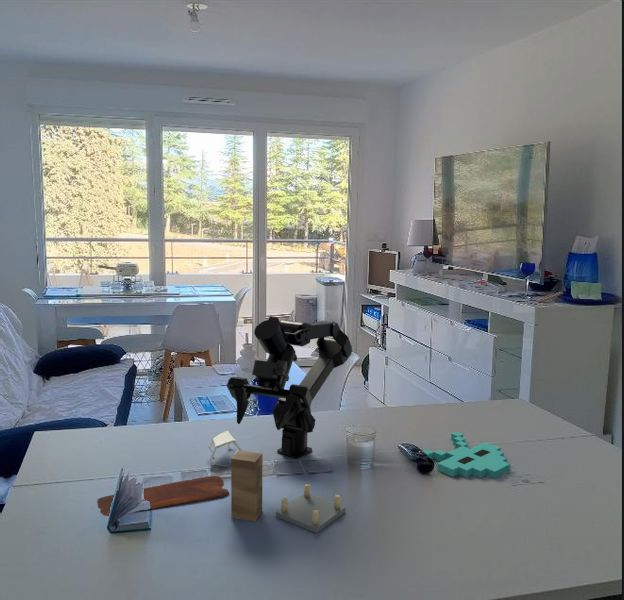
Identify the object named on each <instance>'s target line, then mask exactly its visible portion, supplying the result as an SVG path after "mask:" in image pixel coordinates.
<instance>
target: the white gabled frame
mask: <svg viewBox="0 0 624 600" xmlns="http://www.w3.org/2000/svg"><path fill="white" fill-rule="evenodd" d="M231 444H234V446H235V447H236V448H237V450H236V451H235V452H234V453H232V457H233V456H234V455H235V454H236V453H237V452H238V451H239V450H241V451H243V449H241V447H240V446H239V445H238V443H237V440H236V439H235V438H234V437H233V436H232V434H231V433H230V432H229V430H225V431H223V432H221V433H219V434H218V435H216V436H215V437H214V438H212V439H211V442H210V443H209V444H208V446H207V448H208V449H209V450H210V453H211V454H210V457H209V458H208V460H209V461H212V462H213V464H214V465H213V466H215V465H216V464H217V460H215V459H214V458H215V453H216V450H217V449H219V448H221V447H223V446H226V445H227V448H228V449H230V450H233V448H232V447H230V445H231ZM212 445H214V450H213V448H211V446H212Z"/></svg>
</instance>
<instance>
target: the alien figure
mask: <svg viewBox="0 0 624 600" xmlns="http://www.w3.org/2000/svg"><path fill="white" fill-rule="evenodd" d="M450 437H451V441H452V445H453V446H454V447H455V448H454V449H452V450H450V451H448V452H447V451H443V450H441V449H438V450H435V451H432V450H431V449H427V448H425V449H424V450H422V451H423V452H424V453H425V454H426V455H427V456H428V457H429V458H431V459H432V460H435V461H438V462H437V464H436V466H437V467H436V470H437V471H438V472H440V473H443V474H445V475H447V476H450V477H452V478H454V477H456V476H458V475H459V476H462V477H464V478H466V479H467V478H468V477H471V476H474V477H477V478H479V479H482V478H484V477H489V478H490V479H493V480H494V479H497V478H499V477H502V476H503V475H504V474H506V473H509V472H510V471H511V463H509V462H508V458H507V457H505V456H504V455H505V452H503V451H502V450H501V449H502V447H500V446H498V445H494V444H492V443H489V442H487V441H485V442H482V443H480V444H478V445H476V446H473V447H471V448H469V443H467V442H466V441H467V440H466V438H465V437H464V433H462V432H458V431H455V432H452V433H451V435H450Z"/></svg>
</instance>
